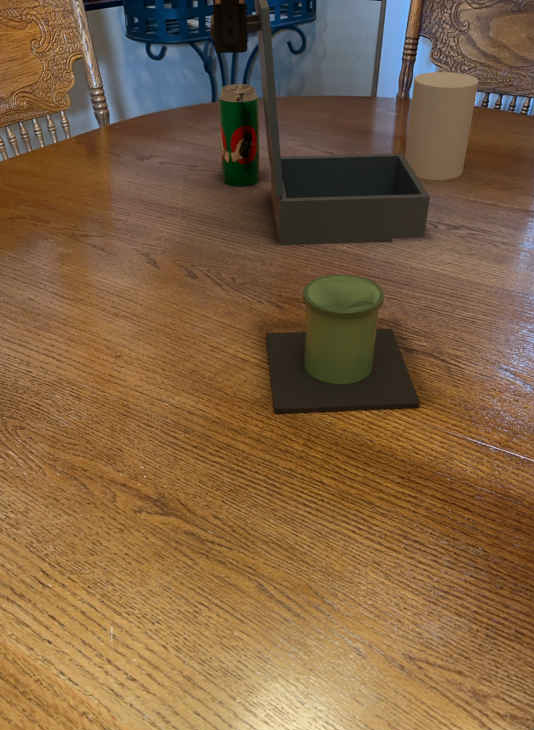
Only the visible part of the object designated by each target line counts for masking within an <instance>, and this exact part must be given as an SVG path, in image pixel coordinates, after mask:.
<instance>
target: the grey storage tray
mask: <svg viewBox="0 0 534 730" xmlns="http://www.w3.org/2000/svg"><path fill="white" fill-rule="evenodd" d="M281 168H282V181H283V194H284V195H283V196H279V197H277V196H276V192H275V187H274V181H273V176H272V171H271V170H270V171H271V172H270V175H271V176H270V179H271V180H270V181H271V182H270V183H271V185H270V189H271V190H270V191H271V192H270V193H271V196H270V197H271V198H270V199H271V204H272V209H273V214H274V215H273V216H274V220H275V226H276V231H277V232H276V233H277V238H278V243H279V244H278V245H279V246H303V245H335V244H339V245H340V244H366V243H393V240H392V239H418V238H419V239H421V238H425V234H426V233H425V232H426V226H427V219H428V212H429V205H430V200H431V196H430V194H429V193H428V192H427V190H426V189H425V186H424V185H423V184H422V182H421V180H420V178H418V177H417V176H416V174H415V172H414V171H413V169H412V168H411V166H410V164H409V163H408V161H407V160H406V158H405V155H404V153H369V154H368V153H367V154H333V155H332V154H330V155H298V156H297V155H296V156H292V155H291V156H290V155H289V156H281Z"/></svg>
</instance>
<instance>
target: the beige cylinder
mask: <svg viewBox="0 0 534 730" xmlns="http://www.w3.org/2000/svg"><path fill="white" fill-rule="evenodd" d="M478 85H479V79H478V78H477V77H474V76H473V75H469V74H465V73H460V72H450V71H434V72H433V71H431V72H424V73H420V74H417V75H416V76H415V77H414V79H413V87H412V96H411V104H410V112H409V120H408V129H407V136H406V137H407V138H406V145H405V153H404V154H405V155H404V156H405V158H406V160H407V161H408V163H409V164H410V166H411V168H412V169H413V171H414V172H415V174H416V176H417V177H418V179H422V180H430V181H446V180H452V179H455V178H458V177H460V176H461V175H462V174H463V172H464V167H465V165H464V164H465V161H466V155H467V150H468V143H469V139H470V131H471V126H472V120H473V114H474V108H475V104H476V97H477V92H478Z"/></svg>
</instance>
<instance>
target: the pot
mask: <svg viewBox="0 0 534 730" xmlns="http://www.w3.org/2000/svg"><path fill="white" fill-rule="evenodd" d="M384 301H385V292H384V290H383V288H382V287H381V286H380V285H379V284H378V283H376V282H375V281H373V280H371V279H369V278H366V277H362V276H358V275H354V274H353V275H352V274H328V275H324V276H320V277H317V278H315V279H312V280H310V281H308V283H307V284H306V285H304V288H303V291H302V302H303V303H304V305H305V329H304V332H305V356H304V366H305V369H306V371H307V372H308V374H310V375H311V376H312V377H313V378H315V379H317V380H319V381H322V382H325V383H330V384H351V383H355V382H358V381H361V380H363V379H364V378H366V377H367V376H368V375H369V374H370V373H371V371H372V366H373V357H374V349H375V340H376V331H377V329H378V322H379V313H380V312H379V311H380V309H381V308H382V307H383V305H384V303H385V302H384Z"/></svg>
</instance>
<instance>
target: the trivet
mask: <svg viewBox="0 0 534 730" xmlns="http://www.w3.org/2000/svg"><path fill="white" fill-rule="evenodd" d="M265 338H266V341H265V342H266V348H267V349H266V350H267V358H268V367H269V375H270V383H271V391H272V400H273V402H272V403H273V409H274V414H275V415H276V414H297V413H298V414H299V413H301V414H302V413H322V412H323V413H324V412H343V411H347V412H348V411H369V410H370V411H371V410H373V411H374V410H393V409H416V408H417V409H418V408H420V406H421V402H420V399H419V397H418V396H419V395H417V391H416V389H415V386H414V384H413V381H412V378H411V376H410V373H409V370H408V367H407V365H406V362H405V360H404V357H403V354H402V352H401V349H400V346H399V344H398V341H397V339H396V336H395V333H394V331H393V328H377V331H376V340H375V349H374V357H373V366H372V371H371V373H370V374H369V375H368V376H367V377H366V378H364V379H363V380H361V381H358V382H355V383H351V384H330V383H325V382H322V381H319V380H317V379H315V378H313V377H312V376H311V375H310V374H308V372H307V371H306V369H305V366H304V356H305V331H291V332H290V331H288V332H266V333H265Z"/></svg>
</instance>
